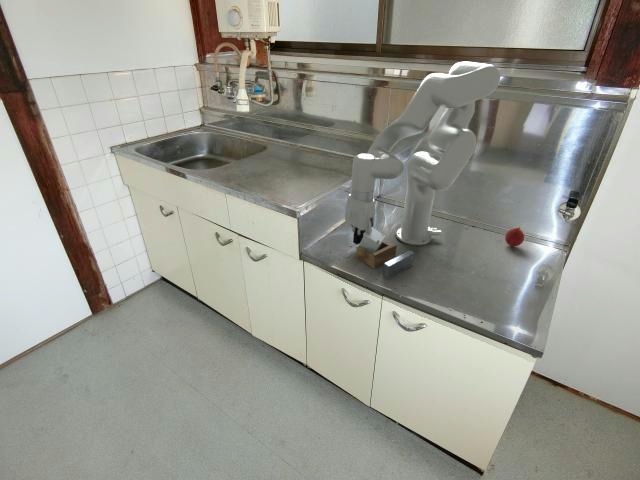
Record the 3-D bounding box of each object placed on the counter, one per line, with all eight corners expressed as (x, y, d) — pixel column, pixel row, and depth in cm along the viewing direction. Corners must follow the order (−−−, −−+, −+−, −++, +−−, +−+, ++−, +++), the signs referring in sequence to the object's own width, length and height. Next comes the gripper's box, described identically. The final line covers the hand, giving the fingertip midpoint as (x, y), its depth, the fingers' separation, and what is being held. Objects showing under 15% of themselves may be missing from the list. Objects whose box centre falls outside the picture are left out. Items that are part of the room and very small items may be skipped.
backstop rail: (382, 276, 112) (384, 263, 110) (407, 263, 119) (409, 250, 116) (387, 279, 111) (389, 266, 108) (412, 265, 118) (414, 252, 115)
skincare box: (362, 241, 126) (370, 226, 121) (377, 250, 125) (386, 235, 120) (355, 250, 122) (363, 234, 117) (371, 259, 121) (380, 244, 116)
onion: (516, 252, 125) (522, 232, 120) (499, 246, 128) (505, 226, 124) (523, 247, 128) (530, 227, 124) (507, 240, 132) (513, 221, 128)
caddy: (355, 257, 121) (356, 244, 119) (377, 247, 127) (378, 235, 124) (373, 268, 116) (374, 255, 113) (395, 257, 121) (396, 244, 119)
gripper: (338, 188, 119) (335, 237, 128) (370, 204, 109) (365, 255, 118) (355, 183, 123) (351, 231, 132) (387, 198, 113) (381, 248, 122)
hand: (357, 242), depth 125 cm, fingers closed
